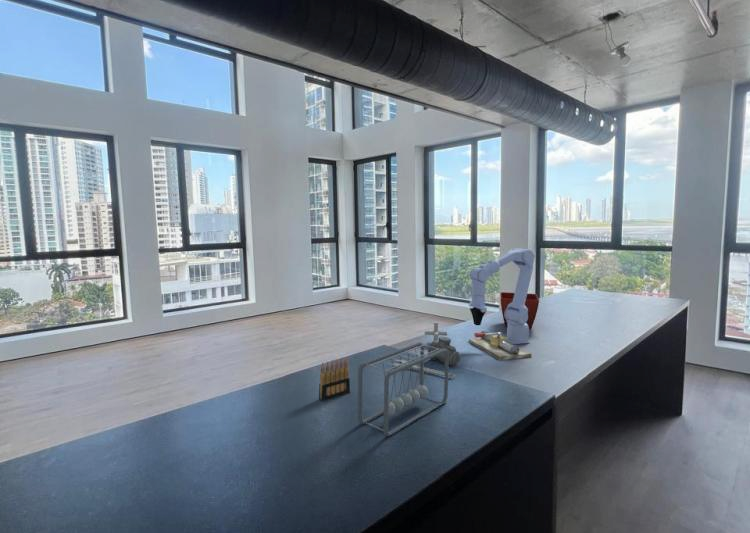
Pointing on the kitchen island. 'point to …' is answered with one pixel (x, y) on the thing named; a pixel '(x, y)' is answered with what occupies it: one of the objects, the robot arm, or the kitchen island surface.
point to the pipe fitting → (443, 344)
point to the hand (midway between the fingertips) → (477, 324)
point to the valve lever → (486, 334)
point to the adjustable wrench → (424, 369)
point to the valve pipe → (501, 343)
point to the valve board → (498, 350)
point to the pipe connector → (435, 332)
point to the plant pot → (530, 303)
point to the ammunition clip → (334, 380)
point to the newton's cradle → (405, 398)
